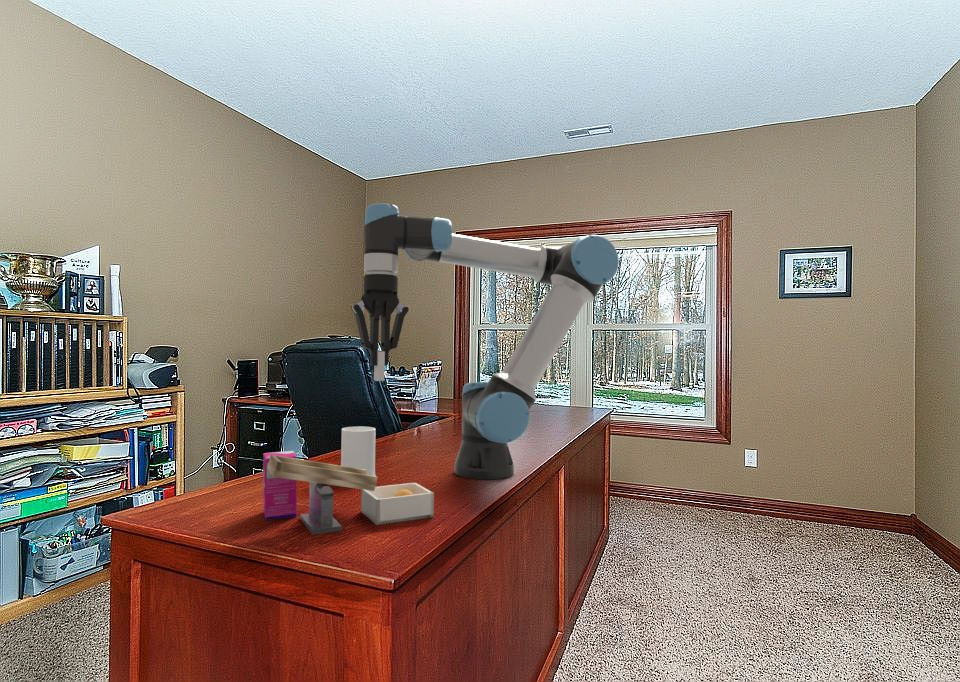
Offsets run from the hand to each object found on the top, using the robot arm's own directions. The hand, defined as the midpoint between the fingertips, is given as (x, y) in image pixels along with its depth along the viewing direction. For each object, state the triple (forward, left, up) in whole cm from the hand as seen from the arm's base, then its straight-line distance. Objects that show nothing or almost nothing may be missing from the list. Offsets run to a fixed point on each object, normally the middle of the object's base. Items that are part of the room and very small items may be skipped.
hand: (379, 380), depth 128 cm
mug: (-1, -14, -25) cm, 28 cm away
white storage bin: (+3, +19, -24) cm, 31 cm away
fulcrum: (+17, +19, -24) cm, 35 cm away
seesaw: (+17, +16, -16) cm, 28 cm away
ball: (+1, +19, -22) cm, 29 cm away
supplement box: (+22, +10, -25) cm, 35 cm away
